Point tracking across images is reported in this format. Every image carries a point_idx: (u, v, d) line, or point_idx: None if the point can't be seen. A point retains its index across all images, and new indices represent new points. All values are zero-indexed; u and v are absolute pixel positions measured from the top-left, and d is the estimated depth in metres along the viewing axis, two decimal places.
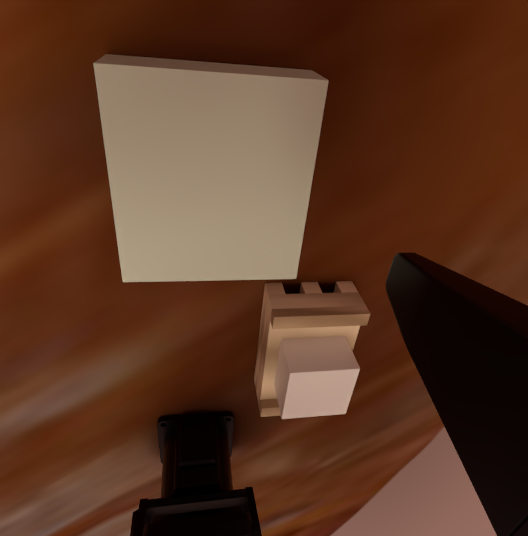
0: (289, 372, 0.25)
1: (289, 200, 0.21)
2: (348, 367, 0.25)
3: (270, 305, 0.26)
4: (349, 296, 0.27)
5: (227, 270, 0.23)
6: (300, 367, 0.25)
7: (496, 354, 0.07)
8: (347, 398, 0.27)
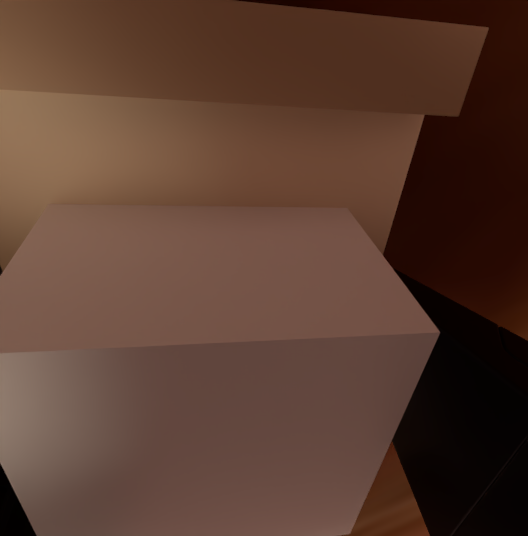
0: None
1: None
2: (369, 325, 0.04)
3: None
4: (366, 14, 0.06)
5: None
6: (55, 322, 0.04)
7: (429, 358, 0.06)
8: (359, 482, 0.06)
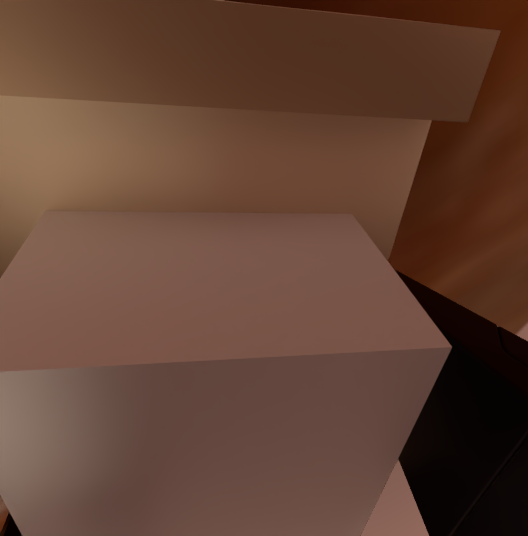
0: None
1: None
2: (378, 339, 0.04)
3: None
4: (371, 16, 0.06)
5: None
6: (49, 338, 0.04)
7: None
8: (365, 497, 0.06)
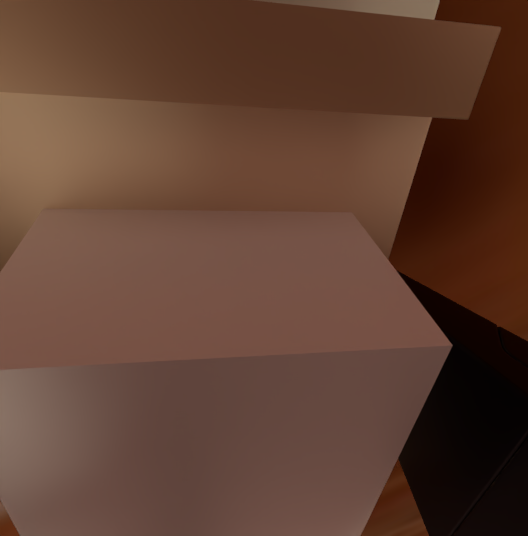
0: None
1: None
2: (378, 337, 0.04)
3: None
4: None
5: None
6: (48, 336, 0.04)
7: None
8: (365, 496, 0.06)
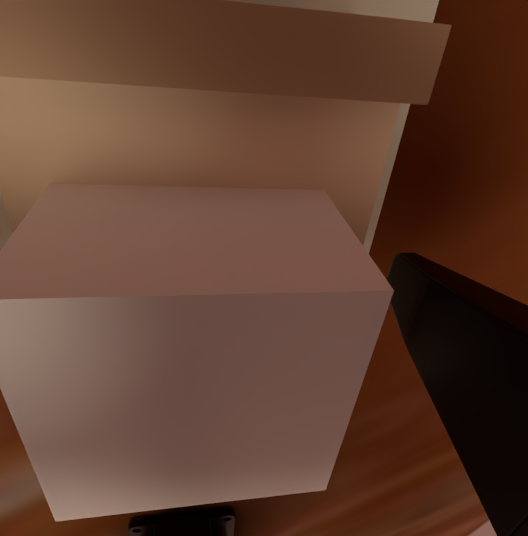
0: None
1: None
2: (332, 284, 0.05)
3: None
4: None
5: None
6: (56, 277, 0.04)
7: (496, 354, 0.07)
8: (331, 436, 0.06)
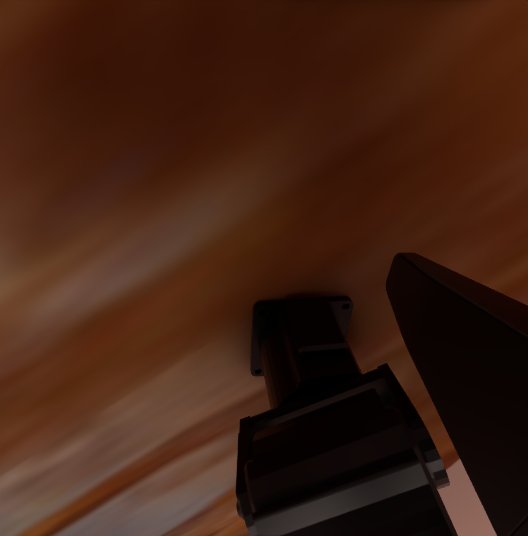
0: None
1: None
2: None
3: None
4: None
5: None
6: None
7: (496, 354, 0.07)
8: None
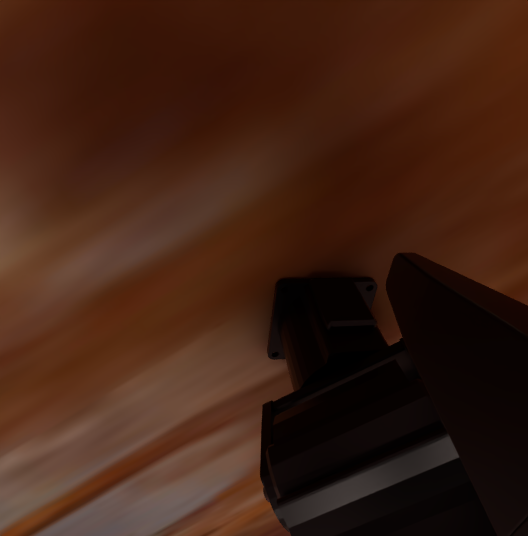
0: None
1: None
2: None
3: None
4: None
5: None
6: None
7: (496, 354, 0.07)
8: None
